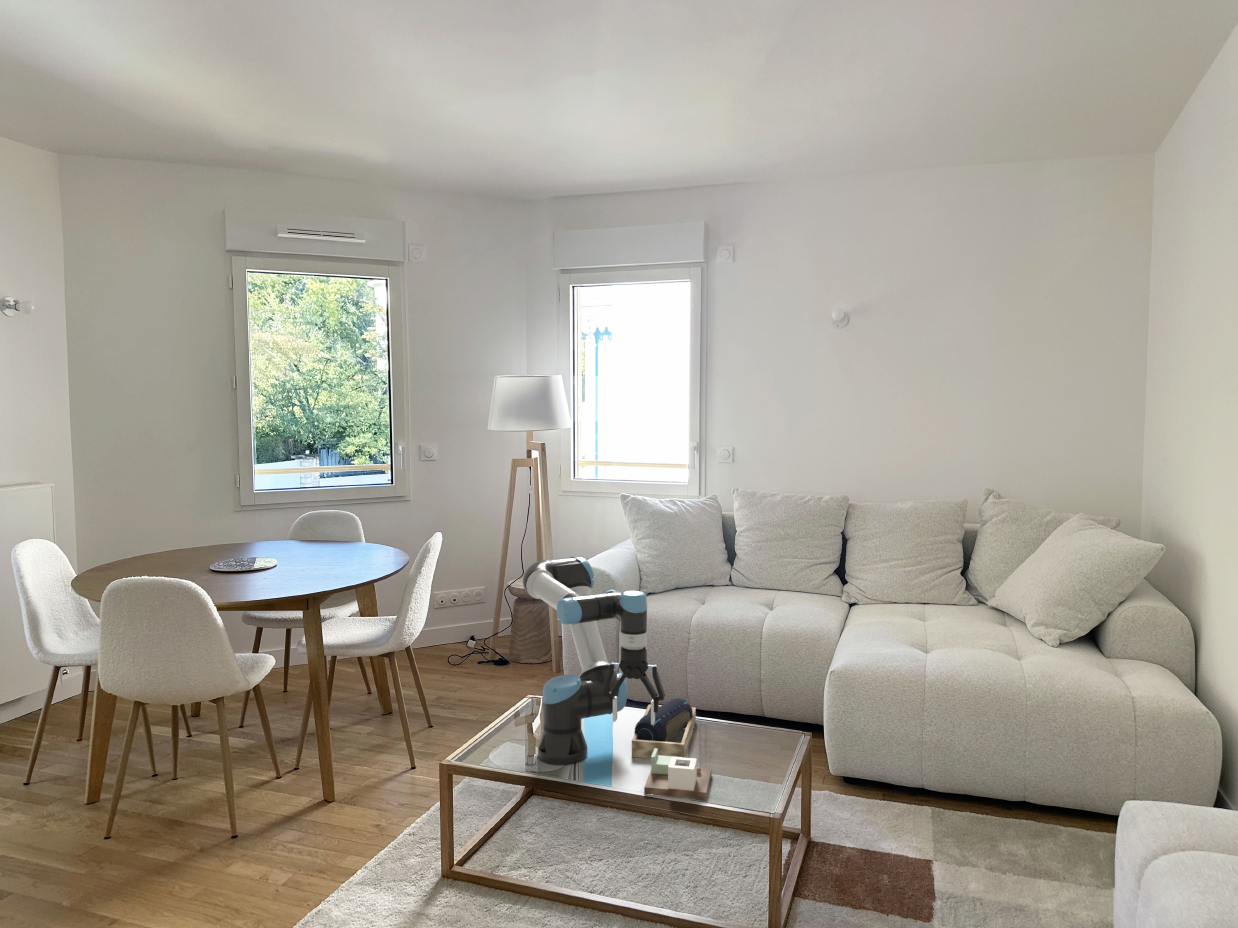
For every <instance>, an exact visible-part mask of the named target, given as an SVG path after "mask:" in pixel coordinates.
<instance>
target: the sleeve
mask: <svg viewBox="0 0 1238 928" xmlns="http://www.w3.org/2000/svg"><path fill="white" fill-rule="evenodd" d="M680 761H684V762H686V766H679V762H680ZM697 762H698V759H697V758H696V757H694V758H693V757H692V758H691V757H685V758H683V757H672V758H671V761H670V763H669V766H668V789H679V790H690V791H694V788H695V784H696V781H697V767H698V766H697V765H698V764H697Z"/></svg>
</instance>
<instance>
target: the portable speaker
mask: <svg viewBox="0 0 1238 928" xmlns="http://www.w3.org/2000/svg"><path fill="white" fill-rule="evenodd" d="M661 705H662V706H660V707H659V709H658V712H655V722H654V725H652V724H651V712H650V713H648V714H647V715H645V716H644V715H643V716H644V717H643V716H642V717H641V718H640V719H639V721H638V722H637V723H636V725H635V727H634V731H633V733H634V734H635V733H637V734H638V740H649V741H662V742H668V741H669V740H671V738H673V737H675V736H676V735H677V734H679V733H680V732H682V731H683V730H684V729H685V730H686V727H687V724H688V721H689V719H691V718H692V717H693V711H692V706H691V703H689V702H688V701H687V700H686V699H684V698H680V697H679V698H678V697H676V698H672V699H669V700H668V701H666V702H665V703H663V704H661Z"/></svg>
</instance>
